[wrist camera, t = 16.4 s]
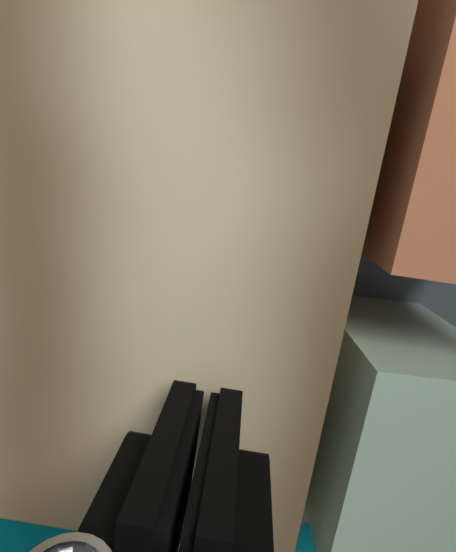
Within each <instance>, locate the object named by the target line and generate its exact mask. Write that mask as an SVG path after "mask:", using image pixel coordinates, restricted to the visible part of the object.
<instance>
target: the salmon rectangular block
mask: <svg viewBox="0 0 456 552" xmlns="http://www.w3.org/2000/svg"><path fill="white" fill-rule="evenodd" d="M362 254H363V255H364V256H365V257H367V258H368V259H370V260H371V261H372V262H374V263H375V264H377V265H378V266H379V267H381V268H382V269H383V270H385V271H386V272H388V273H389V274H390V275H396V276H403V277H410V278H417V279H423V280H430V281H437V282H444V283H451V284H456V0H418V5H417V9H416V13H415V18H414V22H413V27H412V31H411V36H410V40H409V45H408V49H407V54H406V58H405V62H404V67H403V71H402V76H401V80H400V85H399V89H398V94H397V98H396V103H395V107H394V111H393V116H392V120H391V125H390V129H389V134H388V138H387V143H386V147H385V152H384V156H383V161H382V165H381V169H380V174H379V178H378V183H377V187H376V192H375V196H374V201H373V205H372V210H371V214H370V218H369V223H368V227H367V232H366V236H365V241H364V245H363V250H362Z"/></svg>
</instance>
